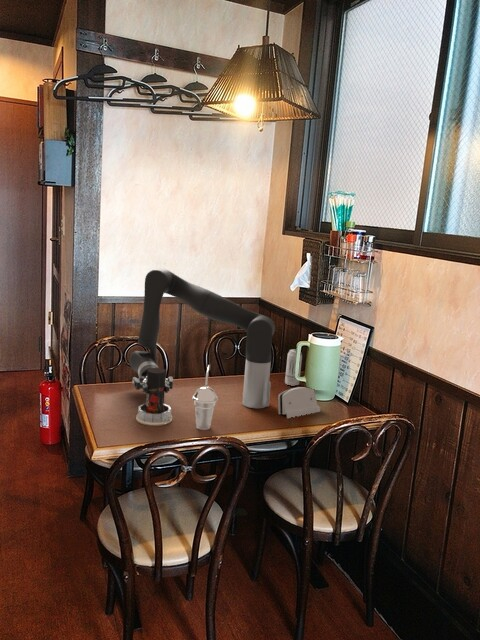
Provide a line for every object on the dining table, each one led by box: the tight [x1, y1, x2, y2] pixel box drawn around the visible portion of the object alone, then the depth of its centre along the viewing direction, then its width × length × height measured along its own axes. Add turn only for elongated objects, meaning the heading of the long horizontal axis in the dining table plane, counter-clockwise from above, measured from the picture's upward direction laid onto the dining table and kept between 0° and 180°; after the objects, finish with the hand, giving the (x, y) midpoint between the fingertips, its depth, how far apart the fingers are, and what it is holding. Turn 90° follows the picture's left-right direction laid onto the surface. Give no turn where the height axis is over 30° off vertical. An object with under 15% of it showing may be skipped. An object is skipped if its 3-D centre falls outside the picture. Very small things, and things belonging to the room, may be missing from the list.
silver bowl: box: [135, 402, 173, 427], centre depth 181 cm, size 12×12×4 cm
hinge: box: [277, 386, 321, 419], centre depth 198 cm, size 17×5×10 cm, turn 126°
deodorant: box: [145, 367, 167, 413], centre depth 179 cm, size 6×6×15 cm
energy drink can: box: [284, 348, 303, 386], centre depth 228 cm, size 6×6×15 cm
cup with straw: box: [191, 364, 219, 431], centre depth 176 cm, size 8×9×20 cm
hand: (157, 390), depth 177 cm, fingers closed on deodorant, 6 cm apart
